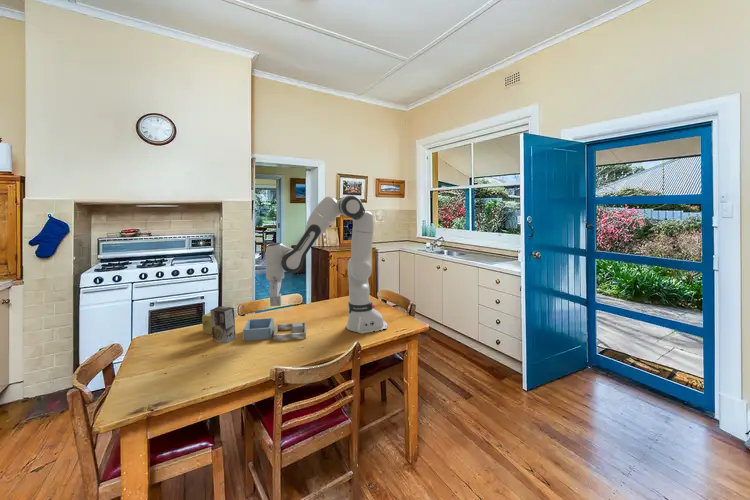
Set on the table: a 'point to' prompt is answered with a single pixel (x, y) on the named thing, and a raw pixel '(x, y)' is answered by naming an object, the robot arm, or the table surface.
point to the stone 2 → (297, 327)
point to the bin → (258, 329)
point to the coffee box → (223, 324)
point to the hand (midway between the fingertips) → (275, 301)
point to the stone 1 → (277, 301)
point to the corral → (288, 336)
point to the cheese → (207, 323)
